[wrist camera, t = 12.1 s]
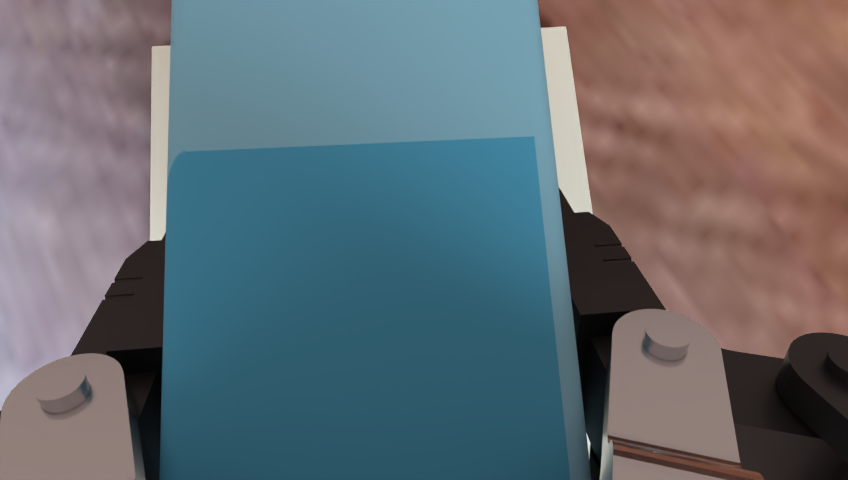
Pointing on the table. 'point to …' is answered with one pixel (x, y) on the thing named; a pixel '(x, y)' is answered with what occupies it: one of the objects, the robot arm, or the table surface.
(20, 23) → the table surface
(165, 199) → the cream mat
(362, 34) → the data package
